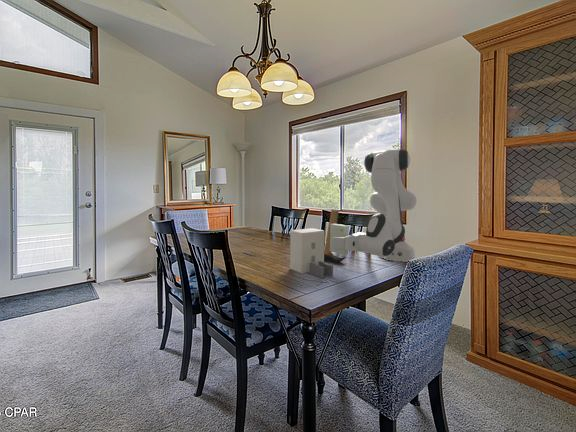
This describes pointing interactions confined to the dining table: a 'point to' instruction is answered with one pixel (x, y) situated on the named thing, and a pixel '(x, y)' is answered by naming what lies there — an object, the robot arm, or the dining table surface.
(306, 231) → the hinge cabinet
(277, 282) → the dining table surface
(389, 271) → the dining table surface
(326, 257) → the hammer
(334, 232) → the white upright block
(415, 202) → the robot arm
